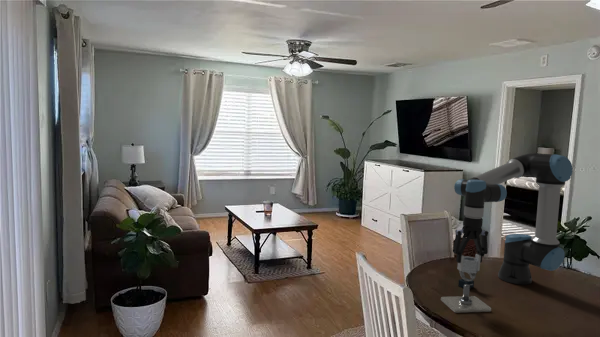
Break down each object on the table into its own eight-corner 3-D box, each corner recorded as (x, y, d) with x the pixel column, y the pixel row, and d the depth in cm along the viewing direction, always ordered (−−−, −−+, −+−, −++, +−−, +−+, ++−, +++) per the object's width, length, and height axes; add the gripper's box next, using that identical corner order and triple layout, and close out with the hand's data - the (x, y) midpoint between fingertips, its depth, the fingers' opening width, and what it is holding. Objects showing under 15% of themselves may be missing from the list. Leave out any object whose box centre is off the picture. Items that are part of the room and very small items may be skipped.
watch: (469, 290, 193) (471, 267, 192) (455, 284, 200) (457, 262, 199) (477, 288, 196) (479, 266, 195) (462, 282, 203) (464, 261, 201)
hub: (471, 267, 179) (472, 256, 179) (480, 273, 172) (481, 261, 172) (456, 267, 178) (457, 256, 178) (464, 273, 171) (466, 261, 171)
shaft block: (474, 299, 183) (476, 279, 182) (490, 311, 172) (492, 290, 171) (440, 300, 181) (442, 280, 180) (454, 312, 169) (456, 291, 168)
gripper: (489, 215, 178) (484, 266, 180) (446, 214, 175) (441, 266, 177) (500, 219, 170) (495, 273, 173) (455, 218, 168) (450, 273, 170)
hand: (468, 269), depth 175 cm, fingers closed on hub, 7 cm apart
